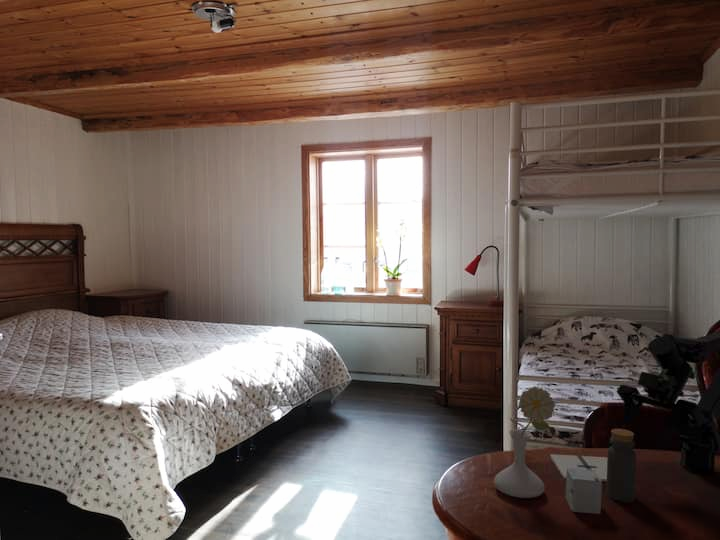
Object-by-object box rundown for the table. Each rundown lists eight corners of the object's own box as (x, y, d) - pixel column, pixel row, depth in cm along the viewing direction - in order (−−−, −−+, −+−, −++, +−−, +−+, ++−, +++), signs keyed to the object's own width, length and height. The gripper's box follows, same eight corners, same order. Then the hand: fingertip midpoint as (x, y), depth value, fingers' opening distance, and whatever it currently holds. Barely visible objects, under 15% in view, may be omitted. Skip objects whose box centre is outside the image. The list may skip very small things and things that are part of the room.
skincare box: (564, 498, 120) (565, 466, 119) (593, 500, 119) (594, 468, 118) (571, 512, 114) (572, 478, 113) (601, 514, 113) (602, 480, 112)
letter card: (607, 459, 142) (607, 457, 142) (628, 482, 128) (628, 480, 128) (550, 456, 143) (550, 454, 143) (563, 479, 130) (564, 476, 130)
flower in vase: (490, 497, 120) (492, 388, 118) (496, 477, 130) (499, 377, 129) (551, 509, 115) (554, 395, 114) (553, 486, 125) (556, 382, 124)
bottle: (638, 503, 117) (640, 437, 117) (609, 501, 119) (612, 435, 118) (630, 491, 123) (632, 428, 122) (603, 489, 124) (605, 426, 124)
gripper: (622, 352, 134) (592, 401, 129) (699, 368, 118) (668, 424, 113) (640, 379, 138) (611, 428, 133) (717, 398, 122) (687, 453, 117)
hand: (642, 432), depth 124 cm, fingers open, 9 cm apart
